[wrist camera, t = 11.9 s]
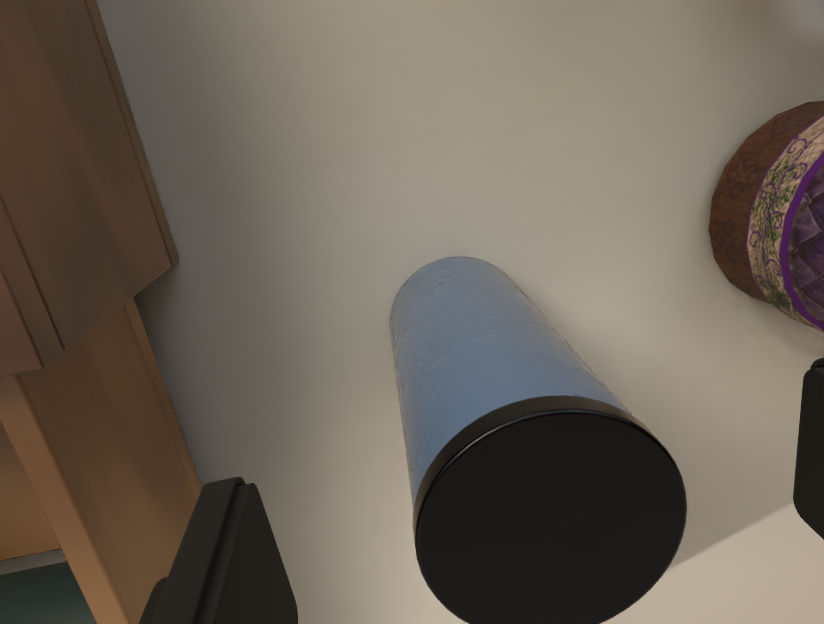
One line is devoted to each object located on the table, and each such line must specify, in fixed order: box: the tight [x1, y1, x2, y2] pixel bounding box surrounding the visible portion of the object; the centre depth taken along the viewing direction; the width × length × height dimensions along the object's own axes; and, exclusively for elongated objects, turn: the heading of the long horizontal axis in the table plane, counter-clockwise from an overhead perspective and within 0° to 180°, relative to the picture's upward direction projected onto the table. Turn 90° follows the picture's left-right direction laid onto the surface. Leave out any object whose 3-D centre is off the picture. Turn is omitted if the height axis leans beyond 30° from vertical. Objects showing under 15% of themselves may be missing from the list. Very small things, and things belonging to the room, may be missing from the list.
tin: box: [390, 257, 687, 624], centre depth 15 cm, size 5×5×11 cm
